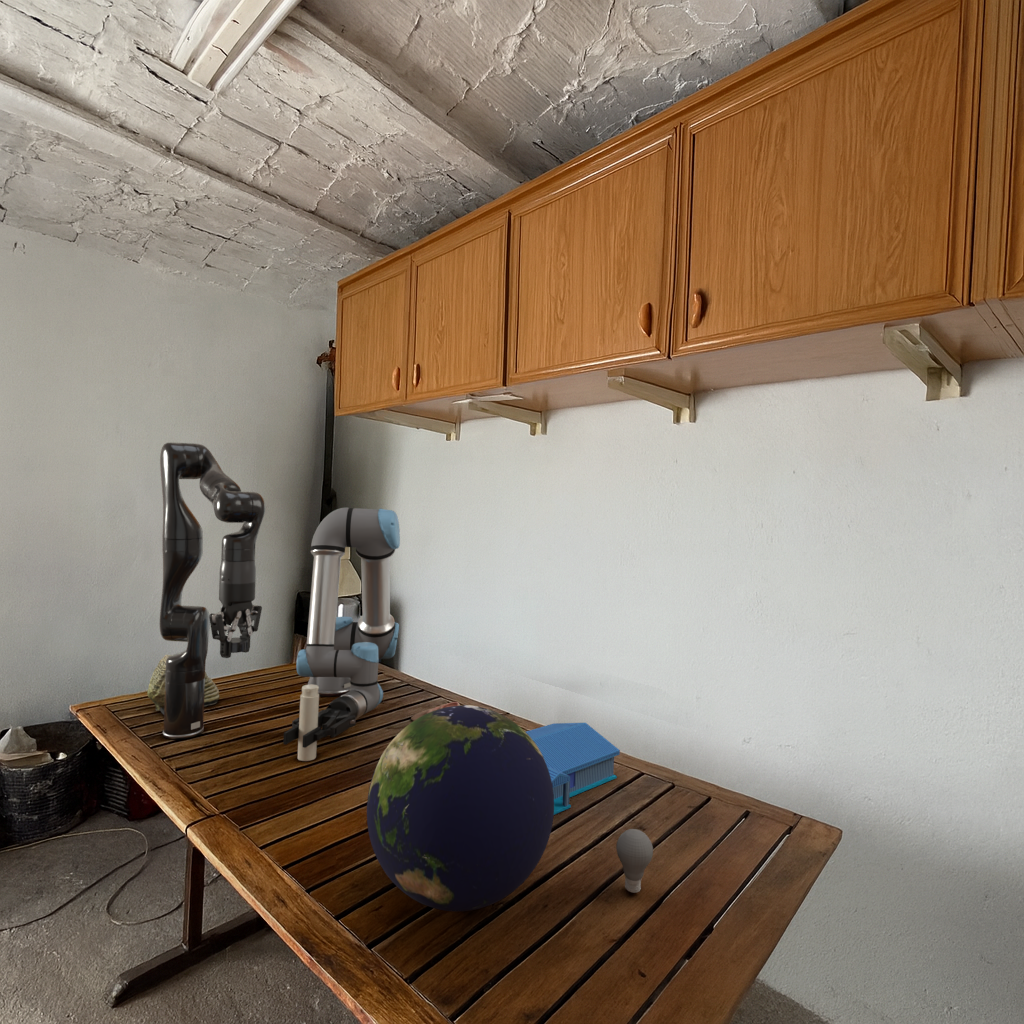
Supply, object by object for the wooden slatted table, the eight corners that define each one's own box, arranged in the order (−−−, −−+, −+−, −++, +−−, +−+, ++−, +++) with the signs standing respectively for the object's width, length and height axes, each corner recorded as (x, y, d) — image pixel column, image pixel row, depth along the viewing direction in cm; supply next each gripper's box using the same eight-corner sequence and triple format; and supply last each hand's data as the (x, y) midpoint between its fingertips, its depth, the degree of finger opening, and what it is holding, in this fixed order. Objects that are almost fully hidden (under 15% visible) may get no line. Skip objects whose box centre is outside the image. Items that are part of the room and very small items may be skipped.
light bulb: (610, 879, 108) (613, 822, 108) (644, 879, 109) (647, 822, 109) (619, 902, 102) (622, 840, 102) (655, 901, 103) (658, 840, 103)
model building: (501, 837, 120) (504, 785, 120) (427, 790, 139) (429, 744, 138) (628, 782, 147) (630, 739, 147) (552, 748, 165) (553, 710, 165)
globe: (322, 922, 94) (330, 722, 94) (423, 829, 122) (430, 674, 122) (507, 988, 83) (517, 762, 83) (572, 869, 111) (580, 699, 110)
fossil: (144, 707, 182) (145, 655, 182) (212, 696, 194) (213, 647, 194) (151, 716, 175) (153, 662, 175) (221, 703, 188) (223, 653, 188)
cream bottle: (295, 761, 151) (299, 689, 151) (298, 754, 155) (302, 683, 155) (314, 761, 151) (318, 689, 151) (317, 753, 156) (320, 684, 156)
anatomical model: (407, 708, 179) (421, 696, 191) (406, 722, 179) (420, 709, 191) (452, 713, 177) (463, 701, 188) (451, 727, 177) (463, 714, 188)
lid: (252, 650, 144) (252, 640, 144) (230, 654, 140) (231, 644, 140) (239, 646, 147) (239, 636, 147) (217, 650, 143) (218, 640, 143)
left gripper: (227, 585, 135) (224, 664, 135) (273, 577, 148) (270, 649, 149) (199, 582, 137) (197, 659, 138) (247, 575, 151) (244, 645, 151)
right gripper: (374, 727, 168) (327, 761, 146) (316, 719, 173) (261, 750, 150) (376, 699, 168) (328, 729, 145) (317, 691, 173) (262, 719, 150)
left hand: (235, 654), depth 143 cm, fingers closed on lid, 5 cm apart
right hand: (294, 740), depth 148 cm, fingers closed on cream bottle, 4 cm apart
